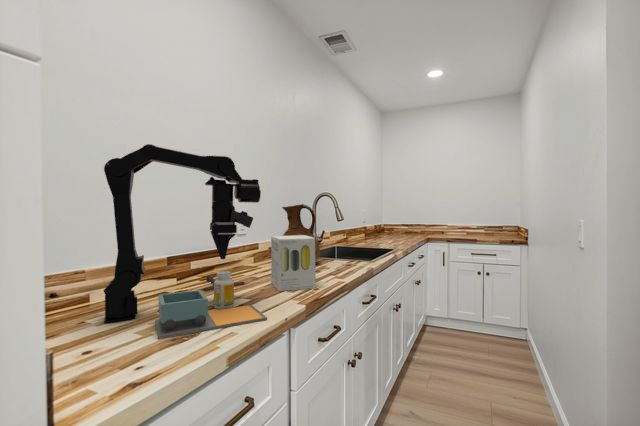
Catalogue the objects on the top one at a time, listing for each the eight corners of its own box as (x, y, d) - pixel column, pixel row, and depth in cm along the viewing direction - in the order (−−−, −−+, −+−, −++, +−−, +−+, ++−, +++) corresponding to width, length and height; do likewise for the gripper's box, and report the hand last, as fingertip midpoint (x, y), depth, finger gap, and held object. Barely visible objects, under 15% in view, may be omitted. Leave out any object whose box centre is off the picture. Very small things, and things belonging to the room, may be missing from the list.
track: (158, 339, 69) (158, 335, 69) (155, 322, 79) (155, 319, 79) (267, 320, 80) (267, 317, 80) (252, 307, 91) (252, 304, 91)
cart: (161, 331, 70) (161, 304, 70) (158, 319, 78) (158, 294, 78) (208, 324, 75) (207, 298, 75) (200, 312, 83) (200, 289, 83)
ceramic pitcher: (279, 261, 171) (279, 204, 170) (318, 260, 173) (317, 204, 173) (279, 268, 151) (278, 203, 151) (322, 267, 153) (322, 203, 153)
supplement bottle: (212, 309, 89) (211, 274, 89) (216, 303, 94) (216, 270, 94) (232, 308, 90) (232, 273, 89) (235, 303, 95) (235, 270, 95)
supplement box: (278, 291, 108) (277, 238, 108) (270, 283, 121) (270, 235, 120) (316, 288, 112) (316, 237, 112) (305, 280, 125) (305, 234, 125)
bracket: (225, 280, 130) (225, 273, 130) (244, 286, 119) (244, 278, 119) (188, 286, 120) (188, 278, 120) (205, 293, 109) (205, 285, 109)
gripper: (256, 201, 87) (255, 260, 87) (247, 203, 104) (246, 252, 104) (212, 200, 83) (211, 262, 83) (210, 202, 100) (209, 253, 100)
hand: (221, 256), depth 93 cm, fingers open, 9 cm apart
